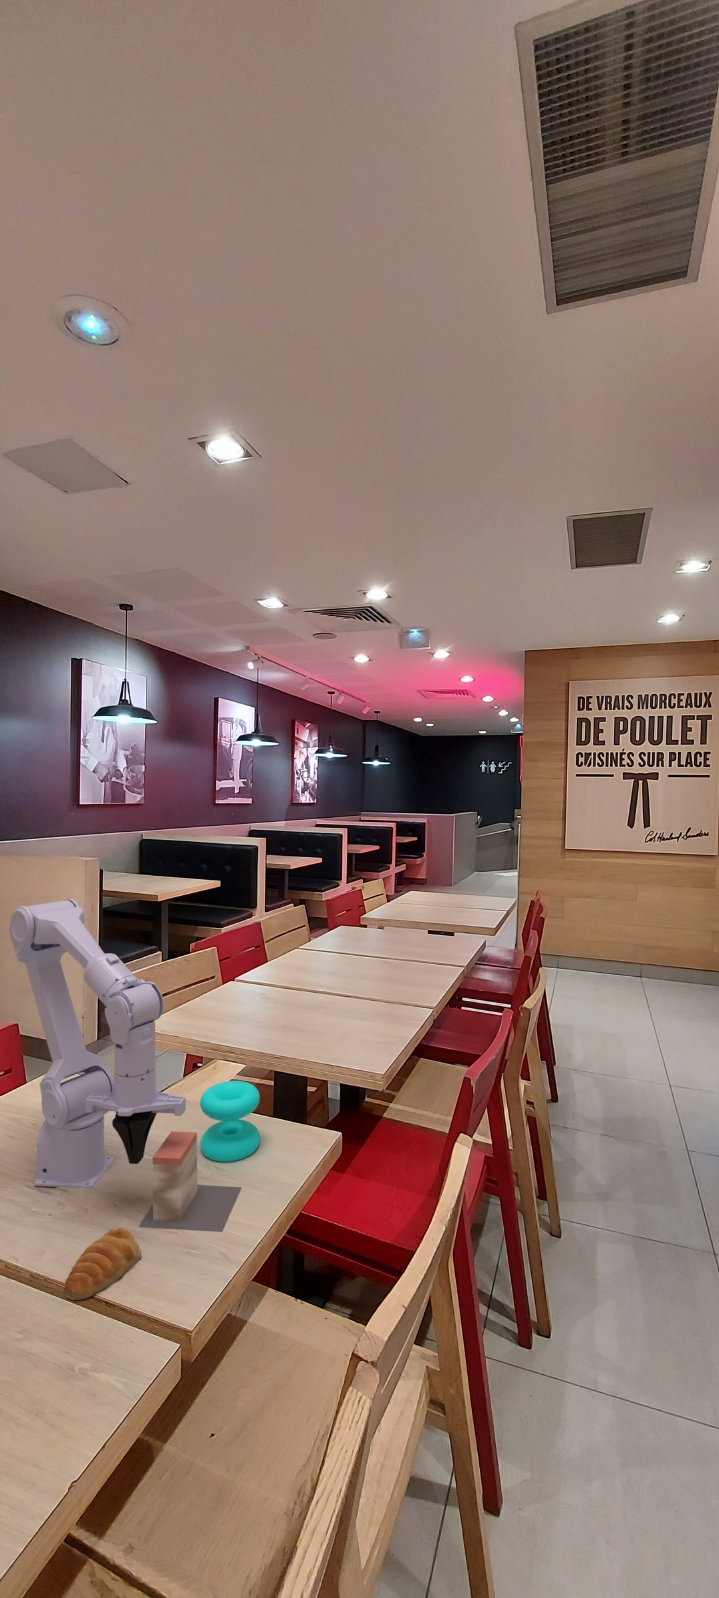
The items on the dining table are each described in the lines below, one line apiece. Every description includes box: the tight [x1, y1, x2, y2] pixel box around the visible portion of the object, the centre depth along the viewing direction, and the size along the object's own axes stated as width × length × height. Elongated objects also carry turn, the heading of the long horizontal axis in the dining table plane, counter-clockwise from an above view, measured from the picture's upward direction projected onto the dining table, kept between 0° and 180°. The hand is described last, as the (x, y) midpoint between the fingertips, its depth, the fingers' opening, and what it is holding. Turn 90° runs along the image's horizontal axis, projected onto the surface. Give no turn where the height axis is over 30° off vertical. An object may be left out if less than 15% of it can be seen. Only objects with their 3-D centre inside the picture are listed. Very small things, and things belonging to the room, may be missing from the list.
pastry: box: [64, 1227, 142, 1301], centre depth 82 cm, size 9×7×4 cm
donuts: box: [199, 1080, 261, 1163], centre depth 111 cm, size 10×10×10 cm
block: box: [152, 1131, 198, 1222], centre depth 95 cm, size 4×7×9 cm, turn 175°
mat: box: [138, 1184, 243, 1233], centre depth 95 cm, size 12×10×1 cm
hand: (136, 1160), depth 96 cm, fingers closed
